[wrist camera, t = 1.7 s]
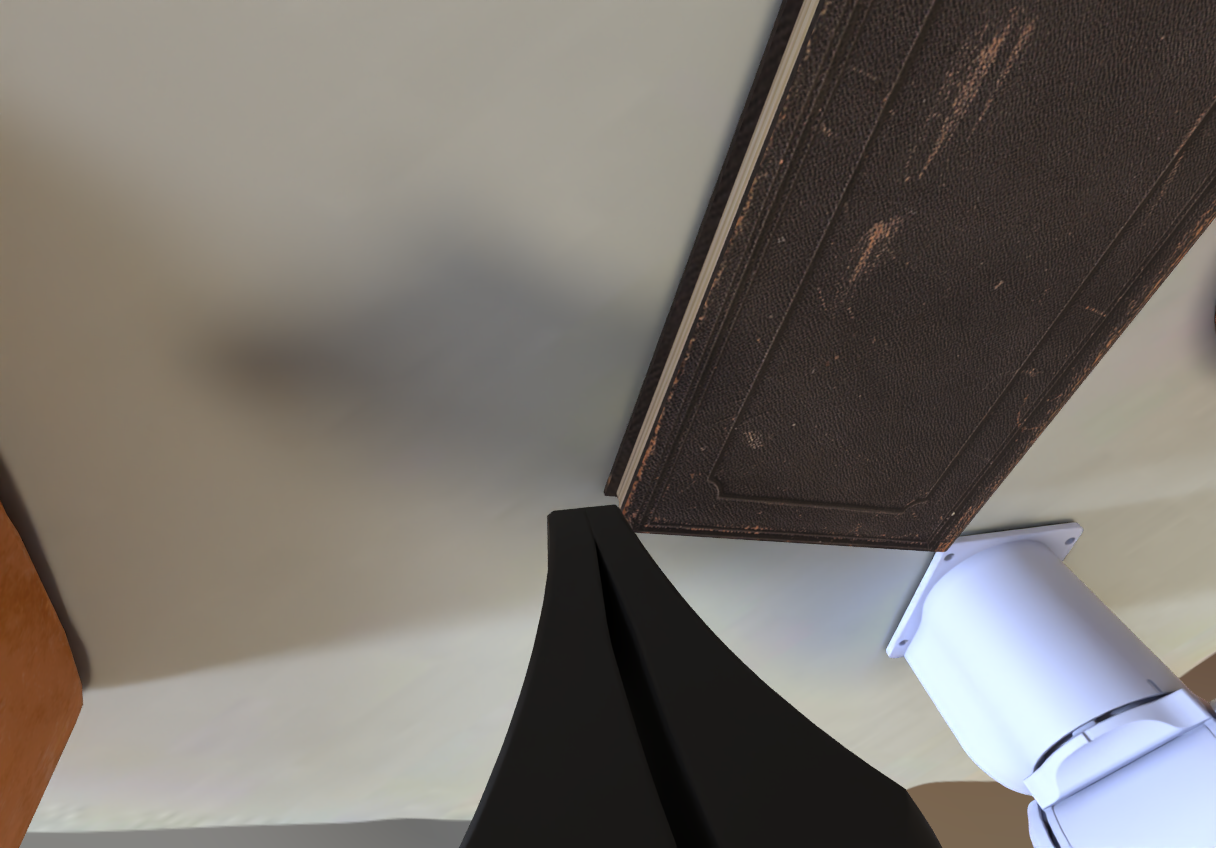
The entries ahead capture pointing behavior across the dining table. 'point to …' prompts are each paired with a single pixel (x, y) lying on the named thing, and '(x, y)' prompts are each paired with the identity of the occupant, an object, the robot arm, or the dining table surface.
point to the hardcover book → (918, 261)
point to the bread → (30, 687)
